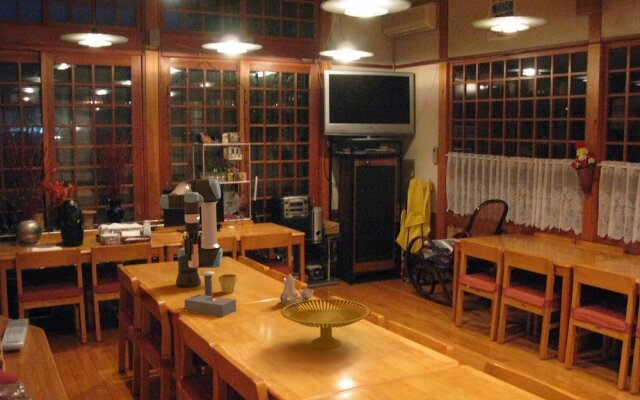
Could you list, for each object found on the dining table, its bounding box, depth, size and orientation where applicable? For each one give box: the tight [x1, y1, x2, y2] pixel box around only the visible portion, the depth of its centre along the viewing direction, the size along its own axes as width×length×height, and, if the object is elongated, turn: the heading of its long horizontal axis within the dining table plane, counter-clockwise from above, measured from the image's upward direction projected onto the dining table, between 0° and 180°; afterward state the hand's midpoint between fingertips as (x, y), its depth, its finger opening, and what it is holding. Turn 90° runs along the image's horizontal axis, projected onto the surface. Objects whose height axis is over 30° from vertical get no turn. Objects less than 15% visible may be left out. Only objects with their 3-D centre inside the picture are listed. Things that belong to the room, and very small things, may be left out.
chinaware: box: [279, 273, 315, 310], centre depth 355 cm, size 28×17×17 cm, turn 167°
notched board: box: [184, 294, 237, 318], centre depth 341 cm, size 24×12×6 cm, turn 63°
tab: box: [190, 244, 198, 268], centre depth 343 cm, size 4×4×12 cm
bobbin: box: [201, 270, 217, 301], centre depth 356 cm, size 10×10×17 cm
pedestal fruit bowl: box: [279, 298, 372, 350], centre depth 289 cm, size 40×40×15 cm
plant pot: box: [218, 273, 238, 295], centre depth 379 cm, size 10×10×10 cm
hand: (193, 265), depth 344 cm, fingers closed on tab, 3 cm apart
